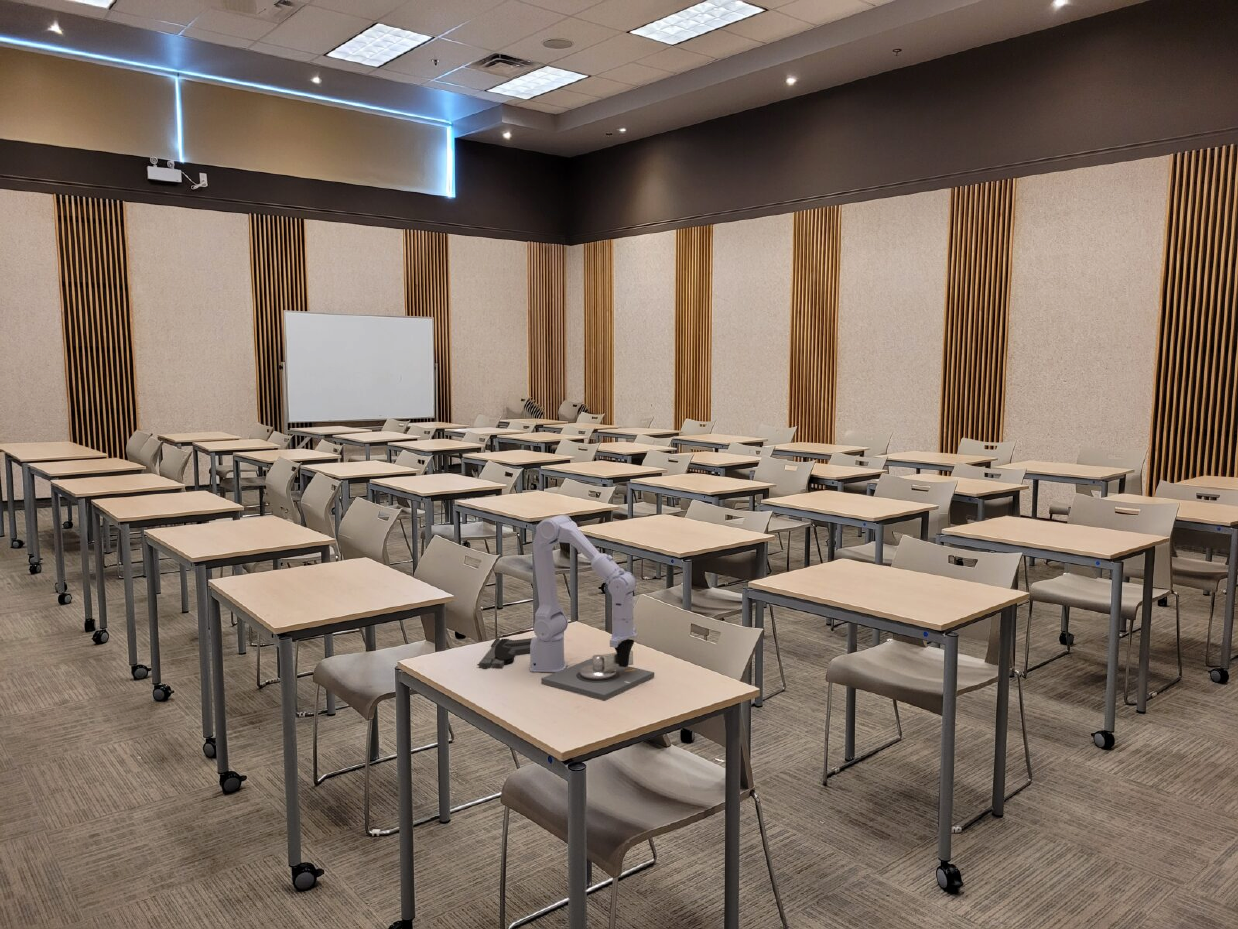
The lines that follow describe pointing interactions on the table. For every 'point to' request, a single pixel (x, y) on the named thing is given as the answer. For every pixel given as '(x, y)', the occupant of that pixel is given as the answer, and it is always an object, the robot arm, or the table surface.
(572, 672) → the dial plate
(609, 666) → the dial
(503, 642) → the pistol
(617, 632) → the robot arm
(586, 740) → the table surface
